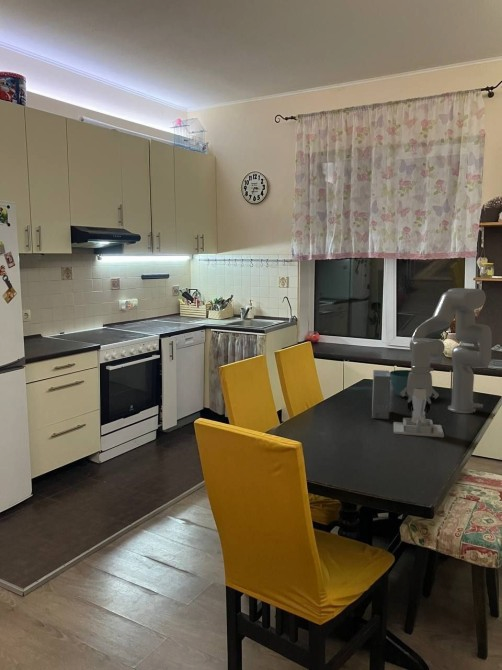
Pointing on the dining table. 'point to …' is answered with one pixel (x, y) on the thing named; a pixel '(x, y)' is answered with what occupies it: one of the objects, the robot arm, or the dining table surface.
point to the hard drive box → (381, 394)
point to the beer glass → (418, 405)
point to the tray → (400, 430)
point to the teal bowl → (399, 380)
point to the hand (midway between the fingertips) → (418, 411)
